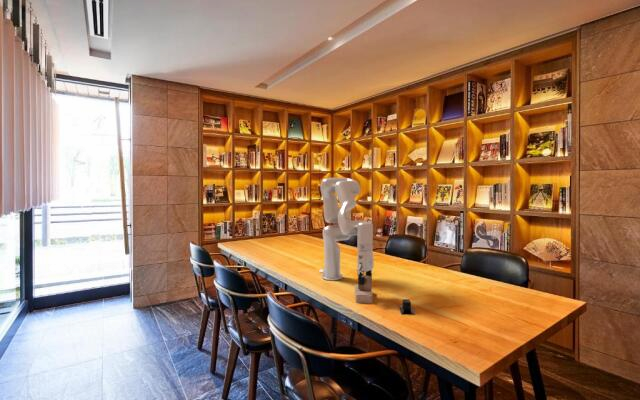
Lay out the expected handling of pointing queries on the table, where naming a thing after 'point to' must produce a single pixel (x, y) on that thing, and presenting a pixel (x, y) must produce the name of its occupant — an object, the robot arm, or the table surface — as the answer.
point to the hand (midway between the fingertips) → (365, 282)
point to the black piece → (406, 307)
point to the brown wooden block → (366, 283)
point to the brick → (363, 295)
